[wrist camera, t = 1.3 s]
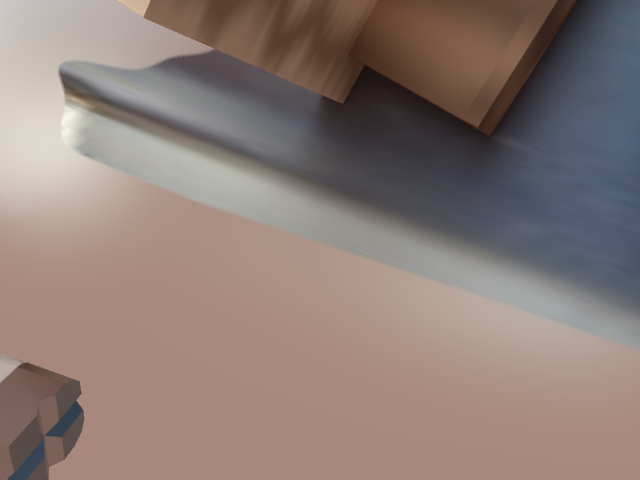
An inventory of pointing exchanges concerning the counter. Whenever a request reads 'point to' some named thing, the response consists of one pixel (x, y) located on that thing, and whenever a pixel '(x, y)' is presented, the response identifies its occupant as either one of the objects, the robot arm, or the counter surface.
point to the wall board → (274, 35)
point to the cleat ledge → (460, 50)
